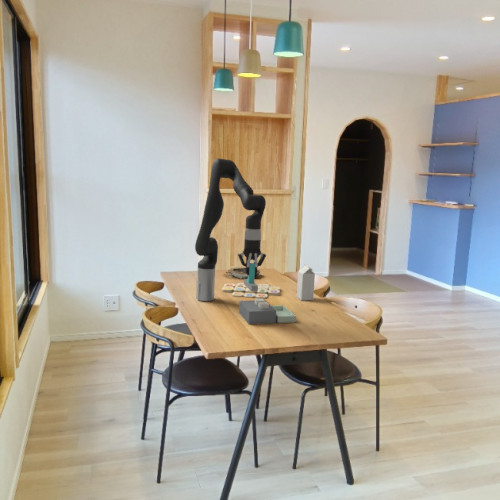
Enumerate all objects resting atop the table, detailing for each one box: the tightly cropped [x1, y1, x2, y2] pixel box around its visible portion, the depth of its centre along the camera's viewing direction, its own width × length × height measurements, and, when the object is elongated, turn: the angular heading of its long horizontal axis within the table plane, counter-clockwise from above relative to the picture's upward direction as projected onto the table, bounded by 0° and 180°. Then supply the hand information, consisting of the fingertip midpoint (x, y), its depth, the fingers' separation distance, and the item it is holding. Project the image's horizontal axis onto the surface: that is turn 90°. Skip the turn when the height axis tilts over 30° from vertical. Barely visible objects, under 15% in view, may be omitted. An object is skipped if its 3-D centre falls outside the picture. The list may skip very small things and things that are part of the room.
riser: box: [238, 299, 277, 325], centre depth 235 cm, size 13×18×6 cm
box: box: [271, 304, 297, 324], centre depth 238 cm, size 9×18×3 cm, turn 15°
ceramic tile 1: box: [258, 301, 269, 309], centre depth 232 cm, size 4×4×2 cm
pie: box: [225, 266, 264, 280], centre depth 324 cm, size 28×27×5 cm
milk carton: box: [296, 263, 316, 301], centre depth 272 cm, size 7×7×19 cm
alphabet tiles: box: [221, 282, 281, 300], centre depth 286 cm, size 33×33×2 cm
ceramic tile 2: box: [254, 298, 266, 305], centre depth 237 cm, size 4×4×2 cm
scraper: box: [243, 262, 258, 291], centre depth 230 cm, size 3×14×12 cm, turn 15°
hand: (251, 274), depth 230 cm, fingers closed on scraper, 2 cm apart
